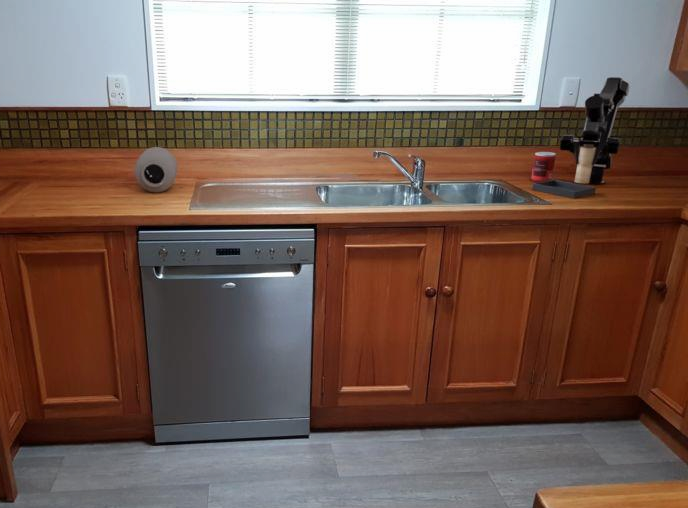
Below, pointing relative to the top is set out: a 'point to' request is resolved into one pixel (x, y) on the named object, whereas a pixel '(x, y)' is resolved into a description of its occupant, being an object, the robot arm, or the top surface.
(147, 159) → the grey egg shaped device
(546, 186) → the tray
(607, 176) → the top surface
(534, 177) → the canned food
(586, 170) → the pepper mill
